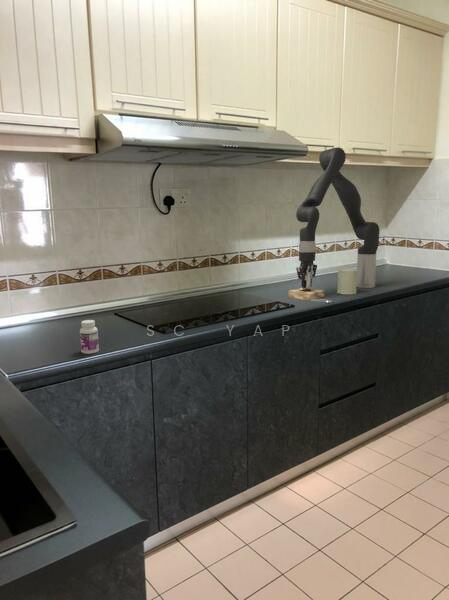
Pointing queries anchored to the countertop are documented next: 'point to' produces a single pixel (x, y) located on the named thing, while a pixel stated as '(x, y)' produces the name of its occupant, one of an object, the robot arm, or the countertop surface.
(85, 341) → the pill bottle
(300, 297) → the socket block
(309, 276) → the pin
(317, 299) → the bar
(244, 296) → the countertop surface
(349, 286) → the can
